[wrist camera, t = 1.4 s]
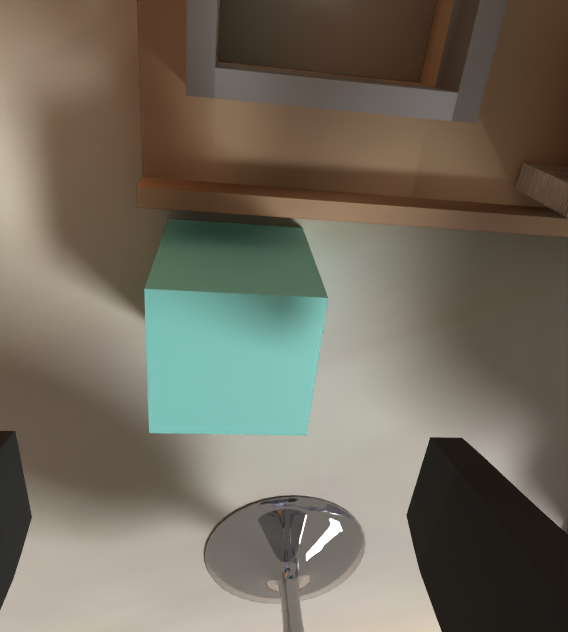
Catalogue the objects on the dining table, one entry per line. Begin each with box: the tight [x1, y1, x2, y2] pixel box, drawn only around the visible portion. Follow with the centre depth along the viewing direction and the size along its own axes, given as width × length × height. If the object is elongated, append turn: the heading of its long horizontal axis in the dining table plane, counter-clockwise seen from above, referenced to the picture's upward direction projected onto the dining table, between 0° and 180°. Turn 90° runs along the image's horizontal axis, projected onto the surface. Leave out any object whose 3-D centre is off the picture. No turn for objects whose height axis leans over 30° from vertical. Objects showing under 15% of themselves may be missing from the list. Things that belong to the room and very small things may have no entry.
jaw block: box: [144, 219, 328, 435], centre depth 14 cm, size 4×4×5 cm
